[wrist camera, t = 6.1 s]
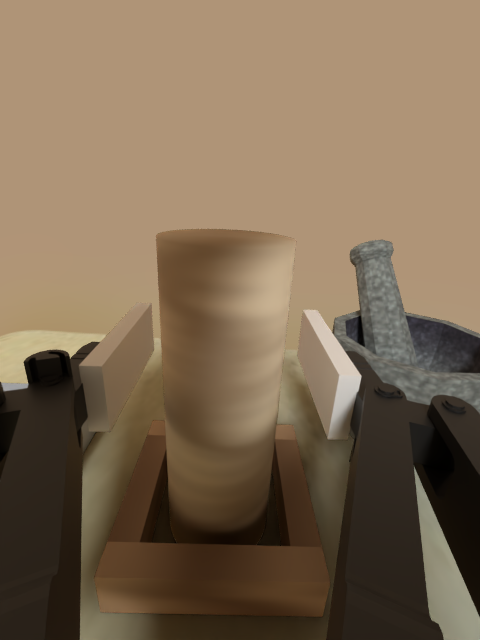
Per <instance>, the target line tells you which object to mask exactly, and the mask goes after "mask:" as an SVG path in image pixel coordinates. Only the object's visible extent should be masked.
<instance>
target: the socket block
mask: <svg viewBox="0 0 480 640" xmlns="http://www.w3.org/2000/svg"><path fill="white" fill-rule="evenodd" d="M272 474H273V482H274V490H275V498H276V506H277V515H278V523H279V531H280V539H281V546H258V545H220V544H181V543H151V542H152V538H153V534H154V530H155V526H156V522H157V518H158V514H159V510H160V506H161V502H162V498H163V494H164V490H165V486H166V482H167V478H168V471H167V450H166V429H165V421H159V420H153V421H152V424H151V427H150V429H149V432H148V435H147V437H146V440H145V443H144V445H143V448H142V451H141V453H140V456H139V459H138V461H137V464H136V467H135V469H134V472H133V475H132V477H131V480H130V483H129V485H128V488H127V491H126V493H125V496H124V499H123V501H122V504H121V507H120V509H119V512H118V515H117V517H116V520H115V523H114V525H113V528H112V531H111V533H110V536H109V539H108V541H107V544H106V547H105V549H104V552H103V554H102V557H101V560H100V562H99V565H98V568H97V570H96V573H95V576H94V580H95V585H96V591H97V596H98V601H99V606H100V612H113V613H161V614H209V615H256V616H304V617H322V616H323V612H324V608H325V604H326V600H327V595H328V591H329V587H330V579H329V574H328V570H327V566H326V562H325V557H324V553H323V549H322V545H321V541H320V536H319V532H318V528H317V524H316V519H315V515H314V511H313V507H312V503H311V498H310V494H309V490H308V486H307V481H306V477H305V473H304V469H303V465H302V460H301V456H300V452H299V448H298V443H297V439H296V435H295V431H294V427H293V425H276V434H275V443H274V452H273V461H272Z"/></svg>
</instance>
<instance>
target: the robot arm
mask: <svg viewBox="0 0 480 640" xmlns="http://www.w3.org/2000/svg"><path fill="white" fill-rule="evenodd" d="M152 324H153V323H152V305H151V303H136V304H135V305H134V306H133V307H132V309H131V310H130V311H129V312H128V313H127V314H126V315H125V316H124V317H123V318H122V319H121V320H120V321H119V323H118V324H117V325H116V326H115V327H114V328H113V329H112V330H111V331H110V332H109V333H108V334H107V335H106V337H105V338H104V339H103V340H102V341H101V342H91V343H89V344H87V345H85V346H83V347H81V348H80V349H79V350H78V351H77V352H76V354H74V355H73V356H72V357H71V359H70V357H69V354H68V352H66V351H63V350H47V351H42V352H39V353H36V354H33V355H31V356H29V357H28V358H26V360H25V361H24V366H25V370H26V375H27V379H28V383H29V384H28V387H27V388H24V389H17V390H9V391H4V390H3V386H2V384H1V382H0V640H80V582H81V522H82V462H83V434H82V428H81V427H82V425H83V424H84V422H85V421H86V419H87V421H88V428H89V431H92V432H110V431H111V429H112V428H113V426H114V424H115V422H116V420H117V418H118V416H119V415H120V413H121V411H122V409H123V407H124V405H125V403H126V401H127V400H128V398H129V396H130V394H131V392H132V390H133V388H134V387H135V385H136V383H137V381H138V379H139V377H140V375H141V373H142V372H143V370H144V368H145V366H146V364H147V362H148V360H149V359H150V357H151V355H152V353H153V351H154V340H153V325H152ZM297 356H298V359H299V362H300V365H301V367H302V370H303V373H304V376H305V379H306V381H307V384H308V387H309V390H310V392H311V395H312V398H313V401H314V403H315V406H316V409H317V412H318V414H319V417H320V420H321V423H322V425H323V428H324V431H325V434H326V436H327V439H334V440H348V437H349V433H350V428H352V431H353V433H354V435H355V438H354V442H353V447H352V451H351V456H350V460H349V462H350V469H349V477H348V484H347V491H346V499H345V506H344V513H343V521H342V528H341V535H340V543H339V550H338V557H337V565H336V572H335V579H334V587H333V594H332V601H331V609H330V616H329V623H328V631H327V638H326V640H444V639H443V634H442V631H441V629H440V627H439V624H437V623H435V622H434V621H432V620H431V618H430V615H429V609H428V601H427V591H426V581H425V572H424V562H423V552H422V543H421V533H420V523H419V514H418V504H417V494H416V484H415V475H414V467H415V469H416V471H417V474H418V476H419V478H420V481H421V483H422V485H423V488H424V490H425V492H426V494H427V497H428V499H429V501H430V504H431V506H432V508H433V511H434V513H435V515H436V517H437V520H438V522H439V524H440V527H441V529H442V531H443V534H444V536H445V538H446V540H447V543H448V545H449V547H450V550H451V552H452V554H453V557H454V559H455V561H456V564H457V566H458V568H459V570H460V573H461V575H462V577H463V580H464V582H465V584H466V587H467V589H468V591H469V593H470V596H471V598H472V600H473V603H474V605H475V607H476V610H477V612H478V614H479V616H480V413H479V412H478V411H477V410H476V409H475V408H474V407H473V406H472V405H471V404H469V403H467V402H465V401H464V400H462V399H460V398H457V397H455V396H448V395H436V396H433V398H432V399H431V402H430V405H426V404H422V403H417V402H413V401H409V400H407V397H406V395H405V393H404V392H403V391H402V390H401V389H399V388H397V387H396V386H394V385H391V384H388V383H384V382H383V381H382V380H381V379H380V378H379V376H378V375H377V374H376V372H375V371H374V370H372V367H371V366H370V364H369V363H368V362H367V361H366V359H365V358H364V357H363V356H361V355H360V354H358V353H357V352H355V351H344V349H343V348H342V346H341V345H340V343H339V342H338V340H337V339H336V337H335V336H334V335H333V333H332V332H331V330H330V329H329V327H328V326H327V324H326V323H325V321H324V320H323V318H322V317H321V315H320V314H319V312H318V311H317V310H303V313H302V321H301V329H300V337H299V345H298V353H297ZM413 464H414V465H413Z"/></svg>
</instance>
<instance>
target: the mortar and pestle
mask: <svg viewBox="0 0 480 640" xmlns="http://www.w3.org/2000/svg"><path fill="white" fill-rule="evenodd" d="M392 253H393V246H392V243H391V242H389V241H385V240H375V241H369V242H365V243H362V244H360V245H358V246H356V247H354V248H353V249H352V250H351V251H350V260H351V263H352V264H353V265H354V266H355V267H356V276H357V286H358V294H359V304H360V310H359V311H356V312H353V313H350V314H346V315H343V316H340V317H337V318H335V320H334V326H333V332H332V333H333V335H334V336H335V337H336V339H337V340H338V342H339V343H340V345H341V346H342V348H343V349H344V351H355V352H357V353H358V354H360V355H361V356H363V357H364V358H365V359H366V361H367V362H368V363H369V364H370V366H371V367H372V370H374V371H375V372H376V374H377V375H378V376H379V378H380V379H381V380H382V381H383V382H384V383H388V384H391V385H394V386H396V387H397V388H399V389H401V390H402V391H403V392H404V393H405V395H406V397H407V400H409V401H413V402H417V403H422V404H426V405H430V402H431V399H432V398H433V396H436V395H448V396H455V397H457V398H460V399H462V400H464V401H465V402H467V403H469V404H471V405H472V406H473V407H474V408H475V409H476V410H477V411H478V412H479V413H480V334H479V333H476V332H474V331H471V330H469V329H466V328H464V327H461V326H459V325H456V324H454V323H451V322H449V321H444V320H439V319H434V318H430V317H425V316H420V315H415V314H411V313H406V312H404V308H403V304H402V300H401V296H400V292H399V289H398V285H397V281H396V277H395V273H394V270H393V265H392V262H391V256H392ZM349 434H350V435H351V437H352V438H353V439H354V438H355V435H354V433H353V431H352V428H350V433H349ZM413 465H414V464H413Z"/></svg>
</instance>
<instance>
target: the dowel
mask: <svg viewBox="0 0 480 640" xmlns="http://www.w3.org/2000/svg"><path fill="white" fill-rule="evenodd" d="M156 242H157V263H158V285H159V305H160V326H161V347H162V367H163V388H164V409H165V429H166V450H167V471H168V491H169V512H170V526H171V531H172V534H173V537H174V539H175V541H176V542H177V543H181V544H220V545H256V544H257V543H258V542H259V540H260V539H261V537H262V534H263V532H264V529H265V525H266V516H267V507H268V498H269V489H270V480H271V471H272V461H273V452H274V443H275V434H276V425H277V415H278V406H279V397H280V388H281V379H282V370H283V360H284V351H285V342H286V331H287V324H288V314H289V305H290V296H291V287H292V278H293V268H294V259H295V250H296V240H295V239H293V238H290V237H286V236H282V235H277V234H271V233H264V232H254V231H243V230H226V229H187V230H186V229H185V230H173V231H166V232H162V233H158V234H157V235H156Z"/></svg>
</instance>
